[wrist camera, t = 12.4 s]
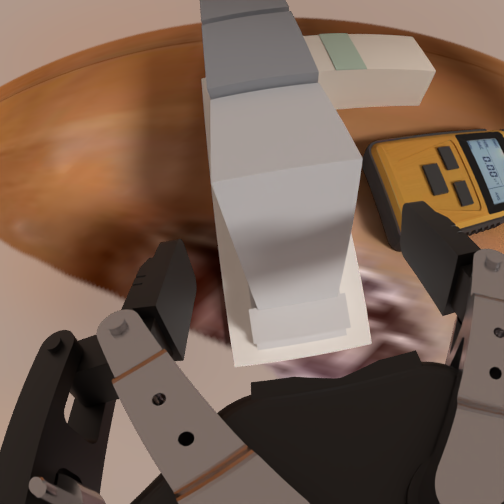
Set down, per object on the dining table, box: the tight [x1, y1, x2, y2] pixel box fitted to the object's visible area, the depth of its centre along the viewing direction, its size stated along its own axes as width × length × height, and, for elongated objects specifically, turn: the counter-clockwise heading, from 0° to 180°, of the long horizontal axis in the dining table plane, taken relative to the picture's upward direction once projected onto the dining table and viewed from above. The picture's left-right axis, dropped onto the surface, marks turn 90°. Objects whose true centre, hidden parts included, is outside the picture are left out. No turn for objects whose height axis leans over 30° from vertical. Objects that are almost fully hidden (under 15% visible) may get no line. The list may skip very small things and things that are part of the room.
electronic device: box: [362, 129, 504, 252], centre depth 20 cm, size 8×16×3 cm, turn 102°
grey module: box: [210, 83, 363, 310], centre depth 14 cm, size 5×5×10 cm
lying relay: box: [303, 33, 436, 109], centre depth 21 cm, size 10×4×5 cm, turn 98°
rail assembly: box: [200, 0, 372, 367], centre depth 17 cm, size 9×24×12 cm, turn 8°
